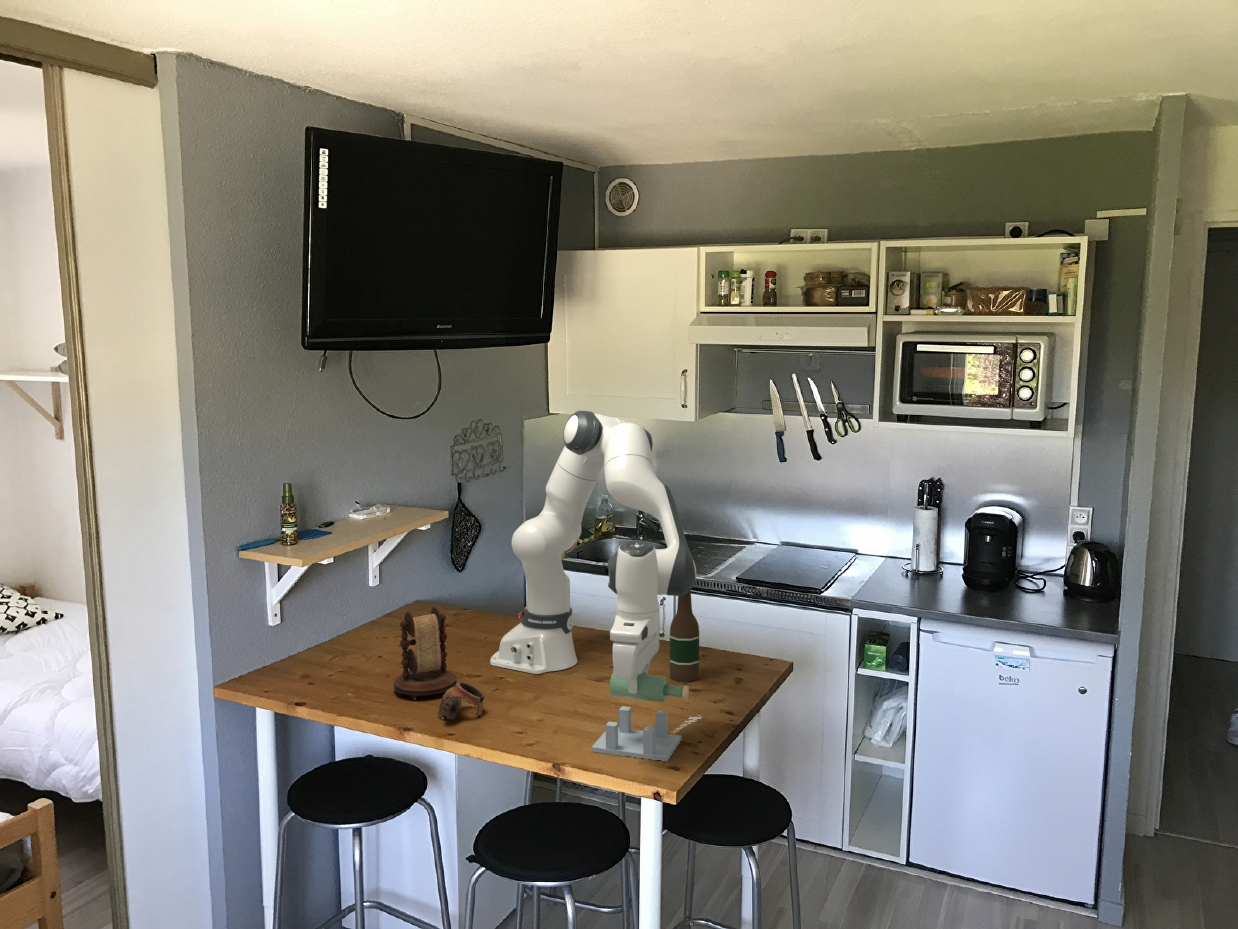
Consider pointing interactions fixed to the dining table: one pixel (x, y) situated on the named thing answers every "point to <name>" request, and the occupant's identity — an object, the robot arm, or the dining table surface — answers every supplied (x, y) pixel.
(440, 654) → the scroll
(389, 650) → the dining table surface
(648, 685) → the bottle
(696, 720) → the butter knife
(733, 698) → the dining table surface
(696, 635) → the beer bottle
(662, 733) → the rest
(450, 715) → the brown ring shaped device
